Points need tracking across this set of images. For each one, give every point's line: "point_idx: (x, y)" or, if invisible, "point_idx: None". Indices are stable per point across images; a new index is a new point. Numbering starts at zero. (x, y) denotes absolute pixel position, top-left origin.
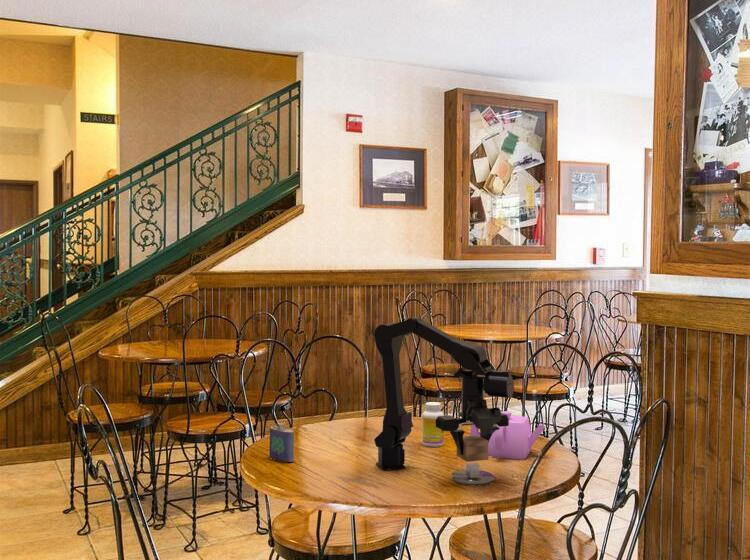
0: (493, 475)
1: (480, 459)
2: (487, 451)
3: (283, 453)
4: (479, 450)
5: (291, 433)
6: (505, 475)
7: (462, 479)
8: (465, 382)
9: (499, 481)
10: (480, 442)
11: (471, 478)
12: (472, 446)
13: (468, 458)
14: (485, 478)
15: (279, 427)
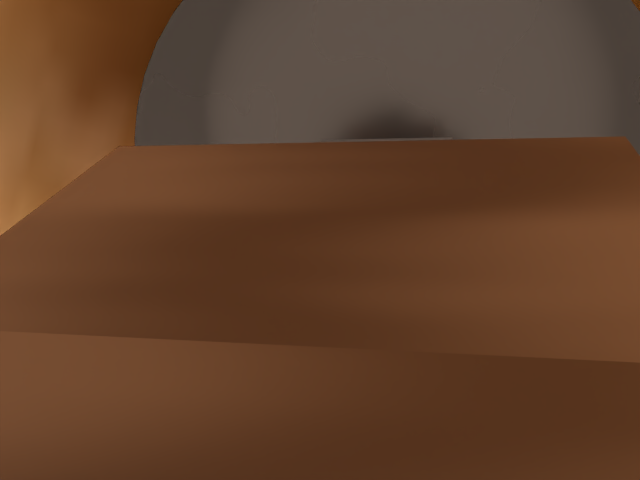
0: (137, 120)
1: (280, 150)
2: (33, 221)
3: None
4: (249, 249)
5: None
6: (3, 189)
7: (609, 88)
8: None
9: (109, 11)
10: (95, 440)
11: (462, 90)
12: (517, 359)
13: (609, 164)
14: (276, 31)
15: None
